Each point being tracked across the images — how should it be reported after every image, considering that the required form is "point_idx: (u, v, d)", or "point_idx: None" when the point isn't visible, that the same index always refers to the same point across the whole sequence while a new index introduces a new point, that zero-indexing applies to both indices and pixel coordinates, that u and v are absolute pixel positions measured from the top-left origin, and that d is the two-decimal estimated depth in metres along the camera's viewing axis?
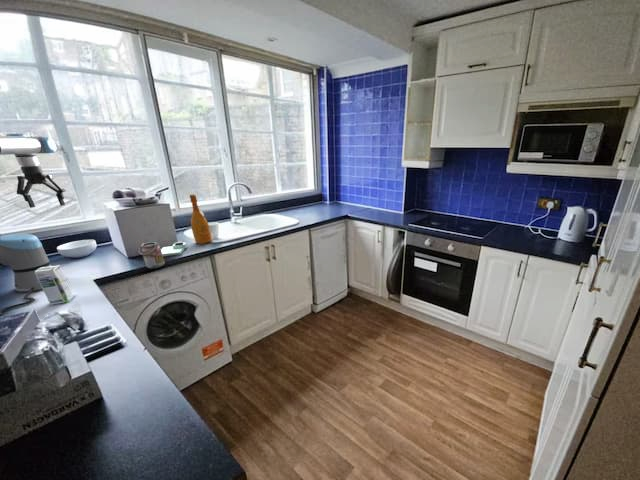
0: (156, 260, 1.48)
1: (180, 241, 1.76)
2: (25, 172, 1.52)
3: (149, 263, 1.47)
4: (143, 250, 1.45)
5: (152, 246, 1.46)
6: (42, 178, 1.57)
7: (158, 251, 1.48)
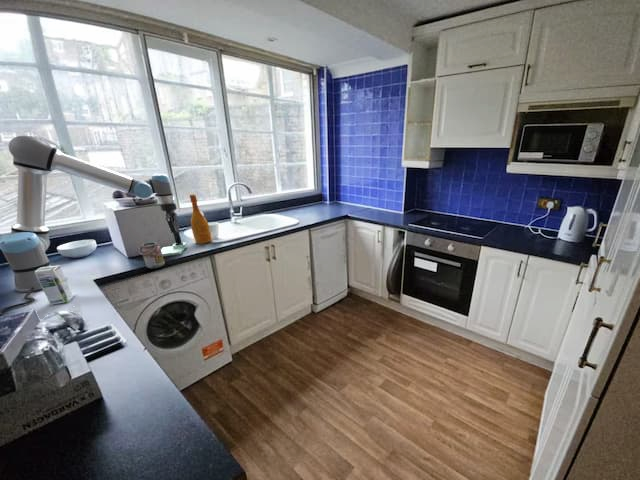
0: (156, 260, 1.48)
1: None
2: None
3: (149, 263, 1.47)
4: (143, 250, 1.45)
5: (152, 246, 1.46)
6: (167, 215, 1.65)
7: (158, 251, 1.48)
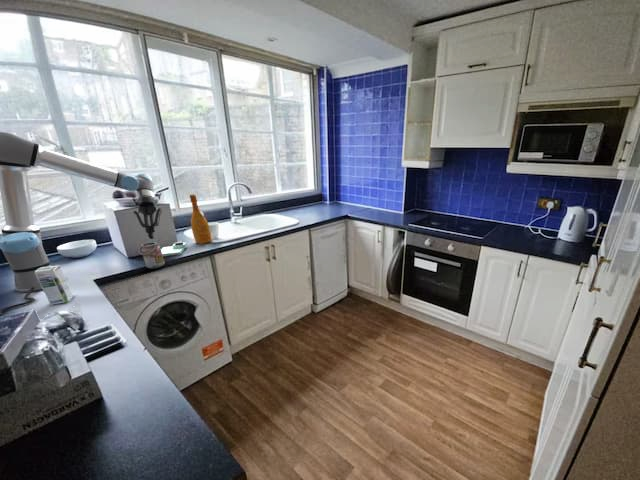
0: (156, 260, 1.48)
1: (180, 241, 1.76)
2: (142, 201, 1.56)
3: (149, 263, 1.47)
4: (143, 250, 1.45)
5: (152, 246, 1.46)
6: (154, 208, 1.59)
7: (158, 251, 1.48)
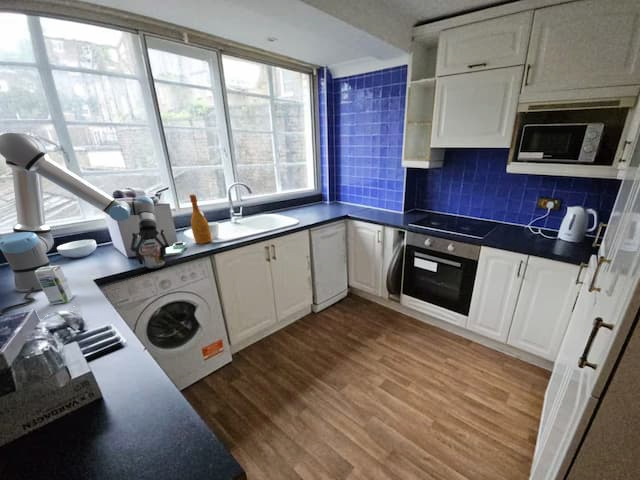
0: (156, 260, 1.48)
1: (180, 241, 1.76)
2: (143, 224, 1.50)
3: (149, 262, 1.47)
4: (143, 250, 1.45)
5: (152, 246, 1.46)
6: (156, 232, 1.52)
7: (159, 251, 1.48)
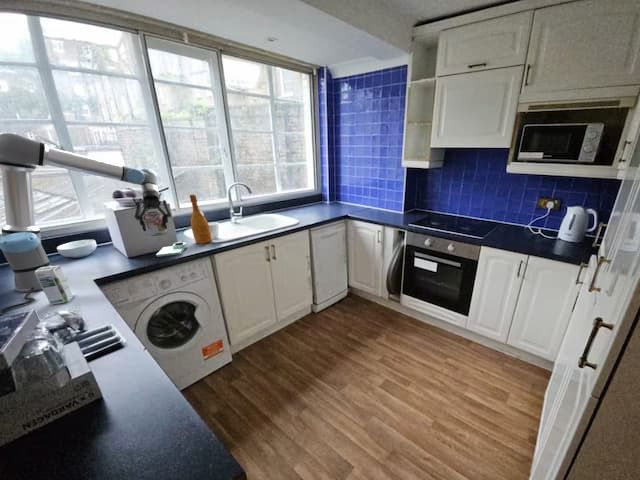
0: (159, 227, 1.56)
1: (180, 241, 1.76)
2: (146, 194, 1.58)
3: (152, 230, 1.55)
4: (147, 217, 1.53)
5: (155, 214, 1.54)
6: (158, 202, 1.61)
7: (161, 220, 1.56)
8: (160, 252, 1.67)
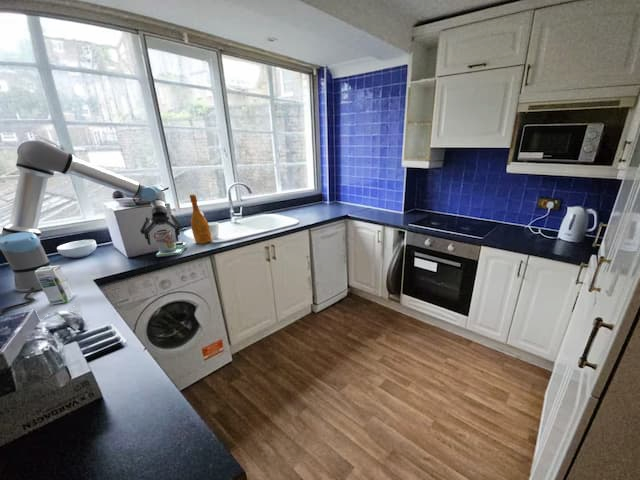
0: (168, 245, 1.65)
1: (180, 241, 1.76)
2: (155, 211, 1.67)
3: (162, 247, 1.65)
4: (157, 236, 1.62)
5: (165, 232, 1.63)
6: (166, 218, 1.70)
7: (170, 237, 1.66)
8: (160, 252, 1.67)
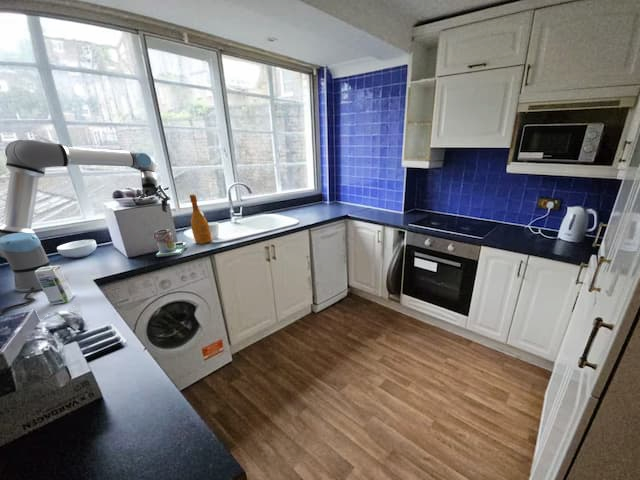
0: (168, 245, 1.65)
1: (180, 241, 1.76)
2: (143, 182, 1.68)
3: (162, 247, 1.65)
4: (157, 236, 1.62)
5: (165, 232, 1.63)
6: (155, 188, 1.70)
7: (170, 237, 1.66)
8: (160, 252, 1.67)
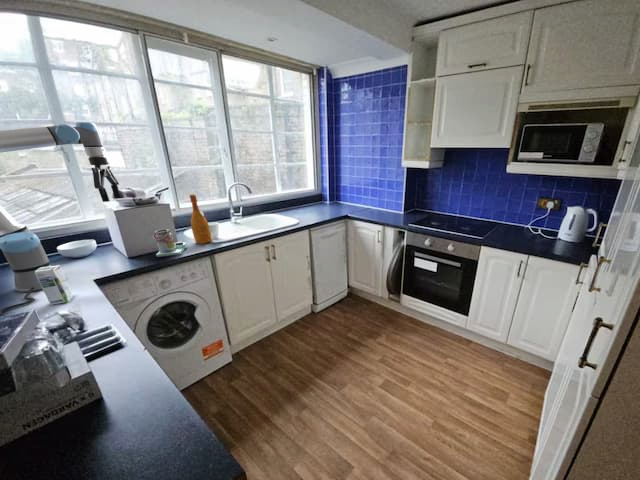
0: (168, 245, 1.65)
1: (180, 241, 1.76)
2: None
3: (162, 247, 1.65)
4: (157, 236, 1.62)
5: (165, 232, 1.63)
6: None
7: (170, 237, 1.66)
8: (160, 252, 1.67)
